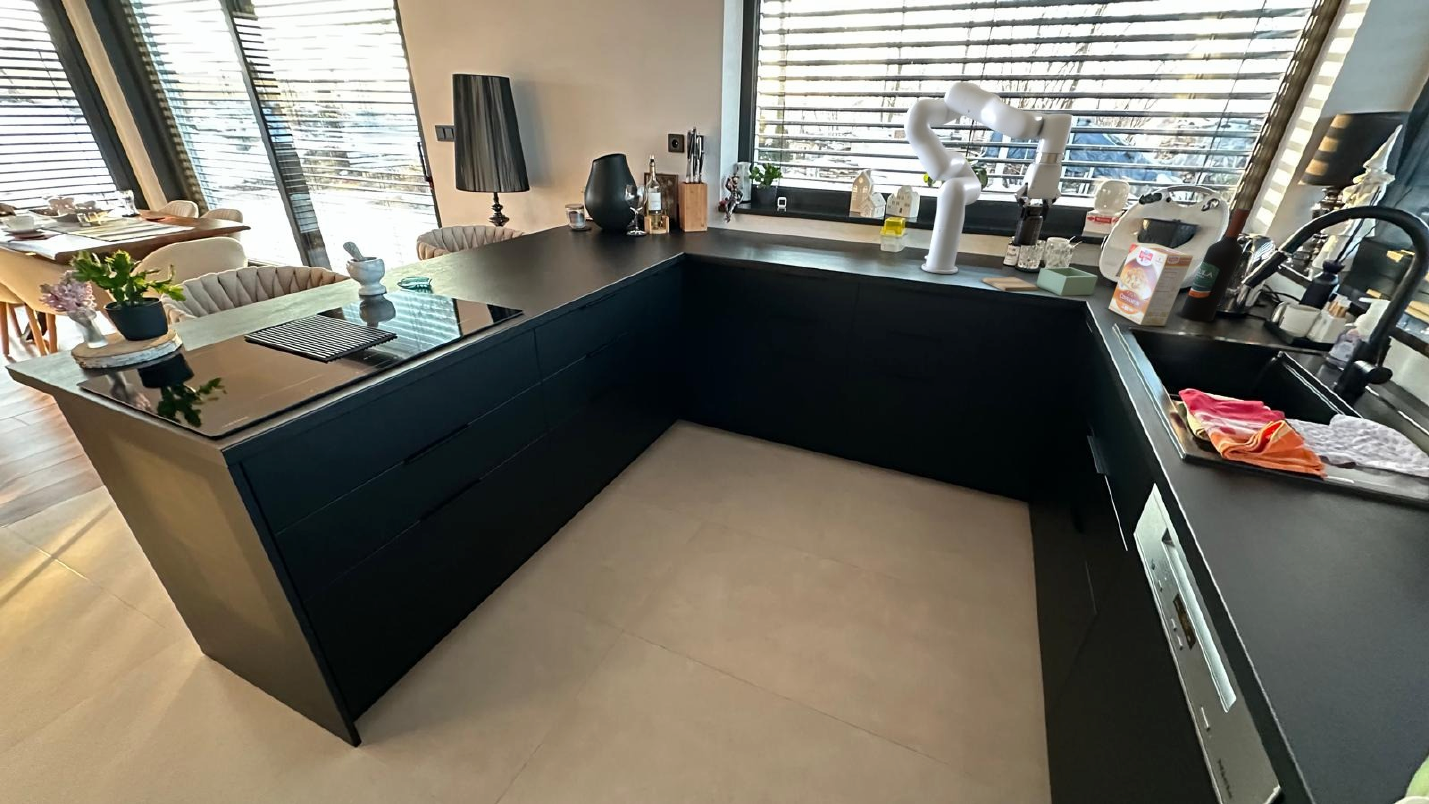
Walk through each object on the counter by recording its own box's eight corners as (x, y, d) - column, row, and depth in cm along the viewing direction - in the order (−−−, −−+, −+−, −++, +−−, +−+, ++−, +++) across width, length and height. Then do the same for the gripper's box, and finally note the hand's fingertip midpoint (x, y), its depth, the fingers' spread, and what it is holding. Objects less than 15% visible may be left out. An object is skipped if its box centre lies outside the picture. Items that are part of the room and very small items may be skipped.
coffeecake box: (1107, 308, 167) (1131, 242, 158) (1131, 309, 167) (1156, 243, 157) (1139, 325, 153) (1167, 254, 144) (1165, 326, 153) (1195, 255, 144)
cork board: (982, 281, 191) (983, 277, 191) (1013, 280, 193) (1014, 276, 193) (1004, 291, 181) (1005, 287, 180) (1037, 290, 183) (1038, 286, 182)
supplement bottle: (1030, 242, 183) (1041, 204, 178) (1039, 246, 177) (1051, 207, 172) (1009, 241, 184) (1019, 203, 178) (1017, 245, 178) (1028, 206, 172)
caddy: (1035, 285, 188) (1040, 268, 185) (1065, 284, 190) (1071, 267, 187) (1060, 295, 178) (1066, 277, 175) (1091, 294, 180) (1098, 276, 177)
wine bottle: (1214, 323, 156) (1265, 212, 142) (1181, 318, 160) (1227, 209, 146) (1210, 316, 162) (1259, 208, 148) (1178, 311, 166) (1223, 206, 152)
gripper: (1063, 158, 174) (1046, 217, 182) (1014, 157, 171) (999, 218, 179) (1081, 160, 167) (1062, 222, 175) (1031, 160, 164) (1014, 222, 172)
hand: (1030, 219), depth 177 cm, fingers closed on supplement bottle, 6 cm apart
